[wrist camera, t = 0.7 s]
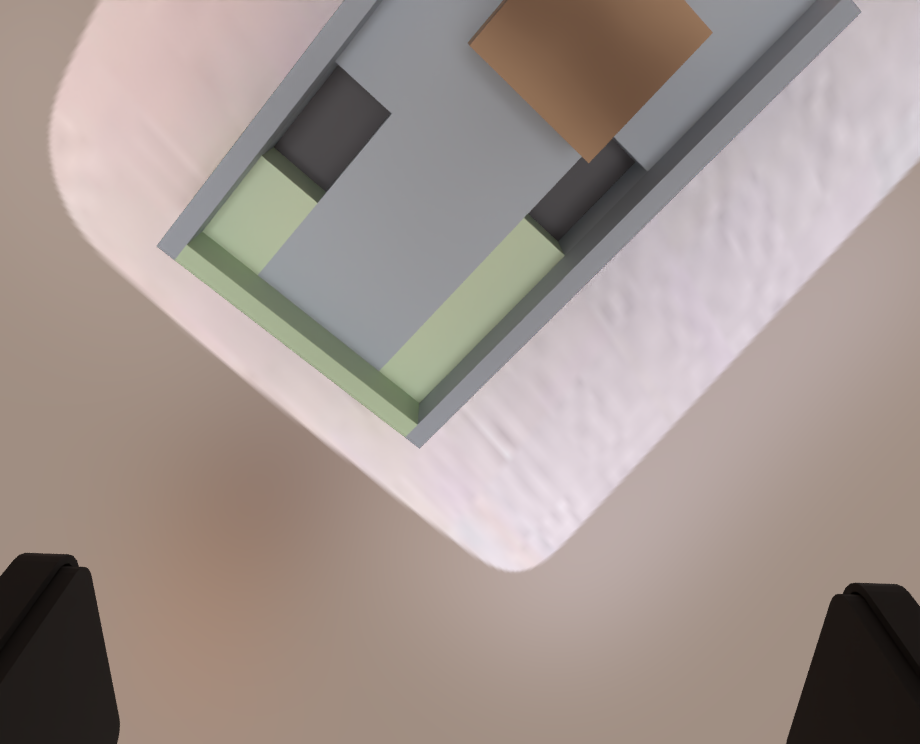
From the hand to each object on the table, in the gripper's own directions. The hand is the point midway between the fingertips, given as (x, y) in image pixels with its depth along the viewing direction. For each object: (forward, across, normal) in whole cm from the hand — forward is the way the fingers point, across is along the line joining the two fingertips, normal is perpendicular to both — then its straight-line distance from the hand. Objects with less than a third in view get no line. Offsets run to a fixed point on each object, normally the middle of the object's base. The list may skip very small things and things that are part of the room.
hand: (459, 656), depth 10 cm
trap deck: (+25, -1, -4) cm, 26 cm away
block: (+23, -4, -7) cm, 24 cm away
